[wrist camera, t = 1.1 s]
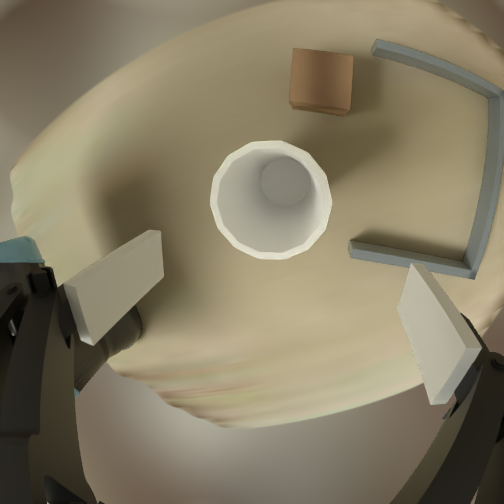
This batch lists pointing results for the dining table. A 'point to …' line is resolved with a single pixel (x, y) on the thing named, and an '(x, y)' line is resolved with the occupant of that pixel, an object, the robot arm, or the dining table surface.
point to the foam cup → (271, 199)
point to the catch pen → (498, 149)
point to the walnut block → (321, 81)
